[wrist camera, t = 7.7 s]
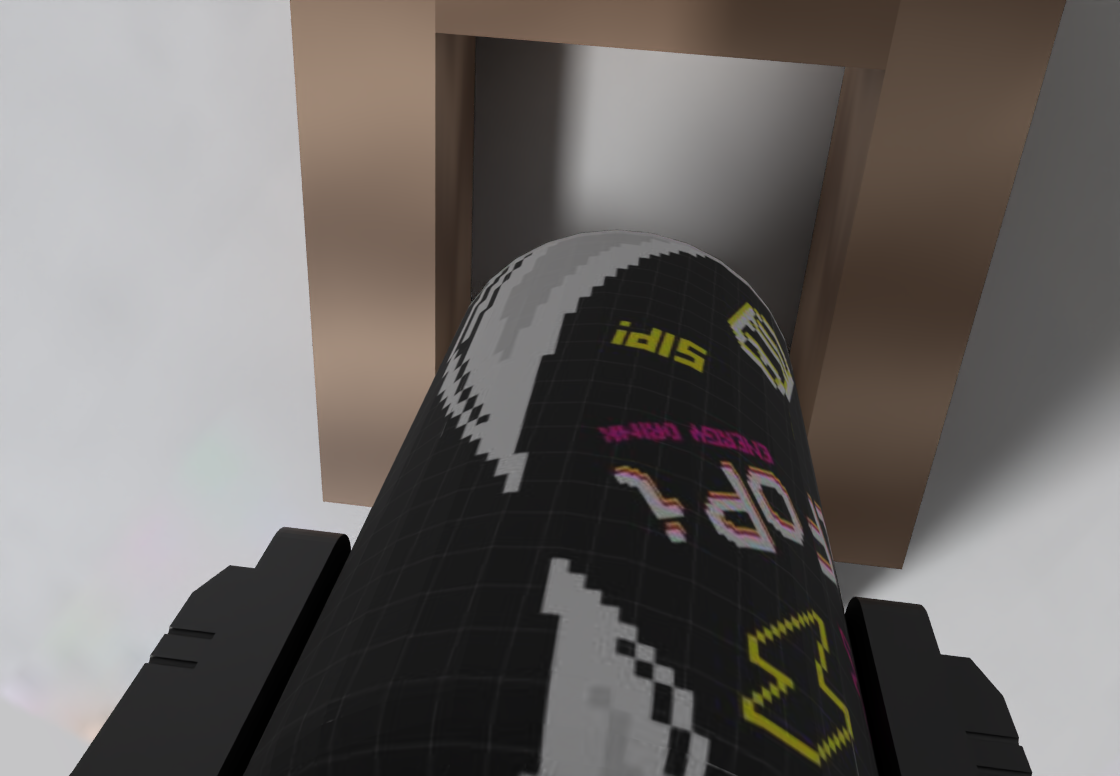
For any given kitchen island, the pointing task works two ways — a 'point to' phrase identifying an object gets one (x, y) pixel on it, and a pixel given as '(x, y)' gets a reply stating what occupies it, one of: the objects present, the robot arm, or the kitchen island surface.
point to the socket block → (837, 243)
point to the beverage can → (590, 548)
